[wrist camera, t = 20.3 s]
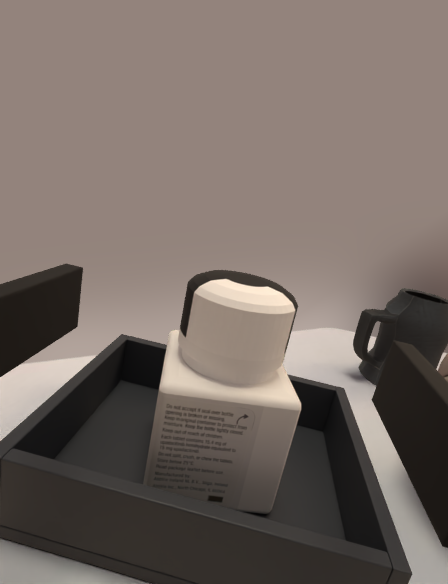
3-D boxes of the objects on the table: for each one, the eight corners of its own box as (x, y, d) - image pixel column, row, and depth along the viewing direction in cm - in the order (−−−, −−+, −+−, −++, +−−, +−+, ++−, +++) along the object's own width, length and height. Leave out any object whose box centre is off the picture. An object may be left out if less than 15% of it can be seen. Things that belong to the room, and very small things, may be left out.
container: (154, 419, 28) (182, 255, 24) (252, 431, 29) (292, 274, 25) (139, 505, 20) (176, 286, 17) (271, 517, 21) (332, 312, 18)
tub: (-17, 533, 18) (-16, 453, 17) (115, 381, 33) (121, 333, 32) (377, 651, 16) (413, 574, 15) (328, 436, 31) (344, 388, 30)
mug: (399, 363, 51) (426, 288, 48) (452, 401, 43) (490, 313, 40) (326, 358, 48) (350, 277, 45) (369, 399, 39) (402, 302, 36)
